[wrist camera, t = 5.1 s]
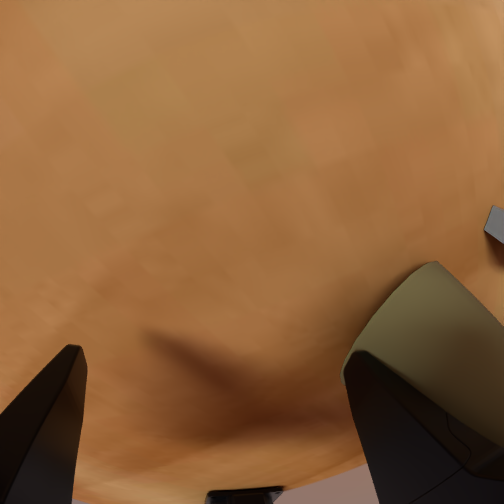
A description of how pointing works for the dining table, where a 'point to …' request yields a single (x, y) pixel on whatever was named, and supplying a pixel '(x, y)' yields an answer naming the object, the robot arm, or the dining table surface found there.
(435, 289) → the olive pawn
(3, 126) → the dining table surface
